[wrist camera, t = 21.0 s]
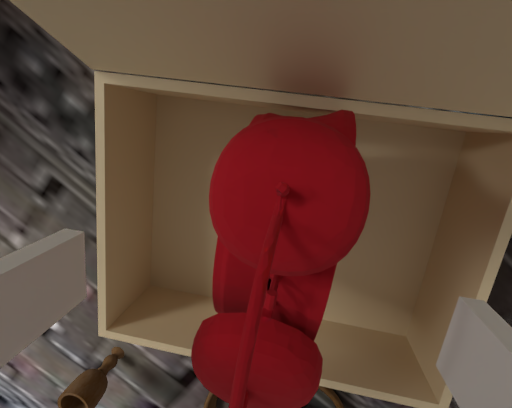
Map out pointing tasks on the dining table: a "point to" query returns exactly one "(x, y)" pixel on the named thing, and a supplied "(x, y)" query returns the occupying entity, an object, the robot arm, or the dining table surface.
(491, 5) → the lid
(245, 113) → the box
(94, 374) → the place setting
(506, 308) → the dining table surface
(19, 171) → the dining table surface
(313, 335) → the alarm clock
